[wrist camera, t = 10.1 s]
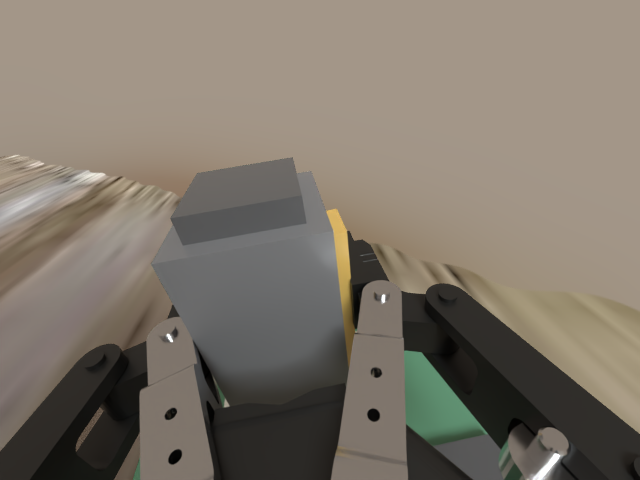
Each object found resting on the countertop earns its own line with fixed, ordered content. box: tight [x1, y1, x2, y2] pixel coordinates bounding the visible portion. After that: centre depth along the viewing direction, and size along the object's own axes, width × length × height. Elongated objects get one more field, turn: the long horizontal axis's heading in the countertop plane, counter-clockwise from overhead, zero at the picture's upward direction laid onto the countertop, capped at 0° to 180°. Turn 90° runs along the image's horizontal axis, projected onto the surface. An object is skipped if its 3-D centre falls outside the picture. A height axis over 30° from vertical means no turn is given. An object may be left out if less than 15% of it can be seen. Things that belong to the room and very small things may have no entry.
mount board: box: [133, 329, 504, 480], centre depth 16 cm, size 18×14×3 cm
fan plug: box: [151, 158, 355, 406], centre depth 11 cm, size 5×4×11 cm
